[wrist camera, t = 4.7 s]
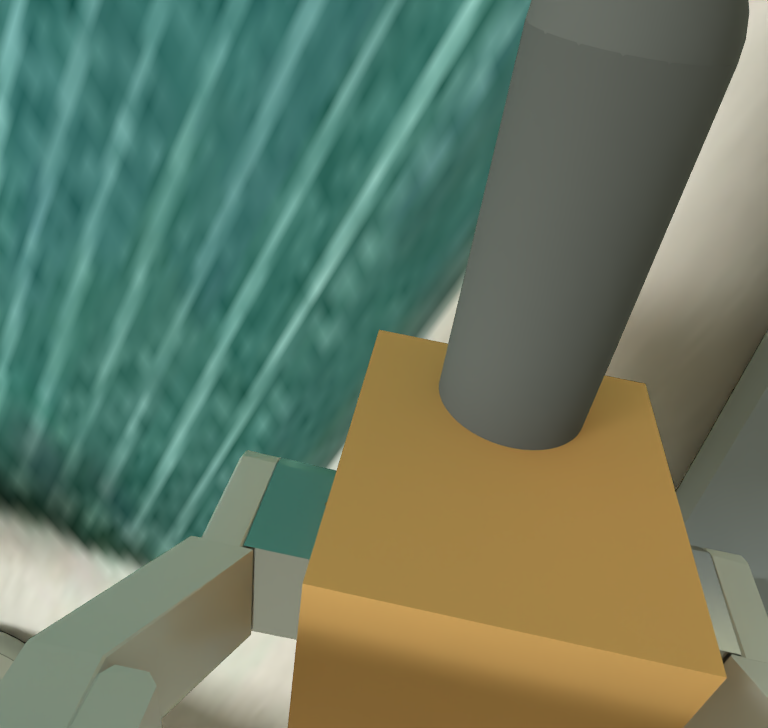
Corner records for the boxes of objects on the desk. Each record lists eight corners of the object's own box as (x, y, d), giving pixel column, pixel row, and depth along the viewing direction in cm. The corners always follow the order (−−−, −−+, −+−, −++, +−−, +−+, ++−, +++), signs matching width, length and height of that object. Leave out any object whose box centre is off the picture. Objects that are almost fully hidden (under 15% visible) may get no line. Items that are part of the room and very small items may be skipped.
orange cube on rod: (451, -125, 7) (377, -150, 3) (856, -57, 6) (1317, 6, 3) (316, 725, 17) (266, 944, 14) (465, 759, 17) (452, 990, 14)
